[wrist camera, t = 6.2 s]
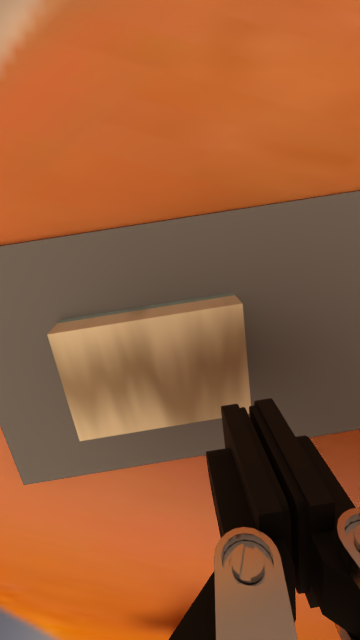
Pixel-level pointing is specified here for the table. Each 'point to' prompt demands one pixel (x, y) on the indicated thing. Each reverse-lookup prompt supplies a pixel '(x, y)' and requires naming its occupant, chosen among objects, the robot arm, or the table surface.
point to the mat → (177, 285)
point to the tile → (152, 365)
